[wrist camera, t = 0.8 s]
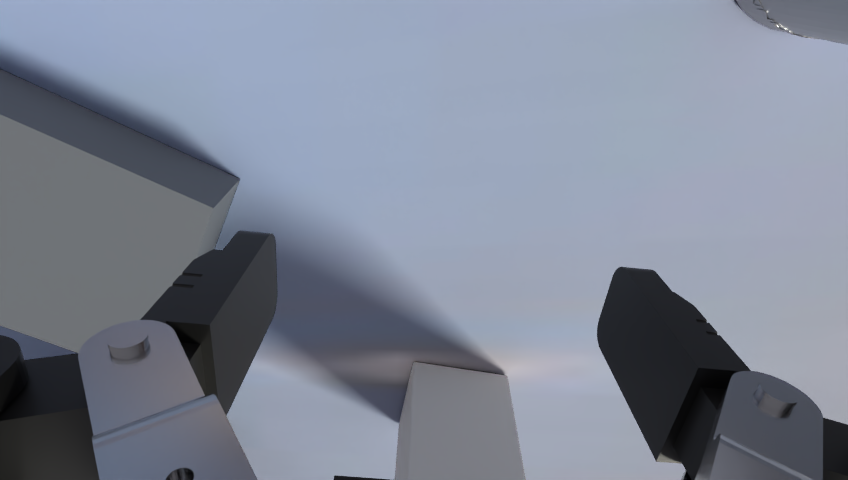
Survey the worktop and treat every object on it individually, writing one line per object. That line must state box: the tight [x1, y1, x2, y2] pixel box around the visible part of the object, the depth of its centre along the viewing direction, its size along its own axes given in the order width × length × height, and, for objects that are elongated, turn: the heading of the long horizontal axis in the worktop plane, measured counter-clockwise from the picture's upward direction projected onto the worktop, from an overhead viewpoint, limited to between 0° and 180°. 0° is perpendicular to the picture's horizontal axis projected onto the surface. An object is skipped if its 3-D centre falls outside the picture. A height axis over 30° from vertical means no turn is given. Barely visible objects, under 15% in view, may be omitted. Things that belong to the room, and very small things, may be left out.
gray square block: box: [0, 69, 240, 353], centre depth 29 cm, size 14×14×4 cm
